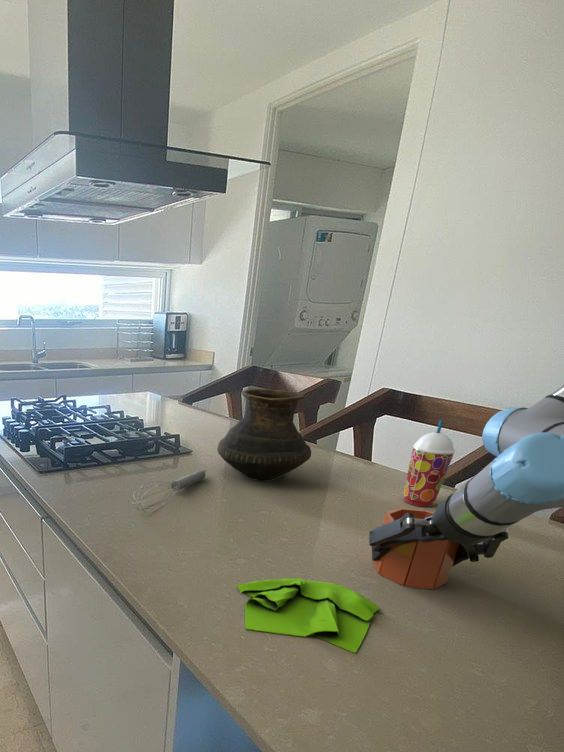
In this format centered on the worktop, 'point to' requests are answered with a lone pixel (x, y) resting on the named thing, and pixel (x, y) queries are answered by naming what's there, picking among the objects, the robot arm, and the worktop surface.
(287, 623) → the cloth
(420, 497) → the smoothie
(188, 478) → the kitchen whisk
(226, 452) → the ceramic pot
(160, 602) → the worktop surface
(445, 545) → the cup
